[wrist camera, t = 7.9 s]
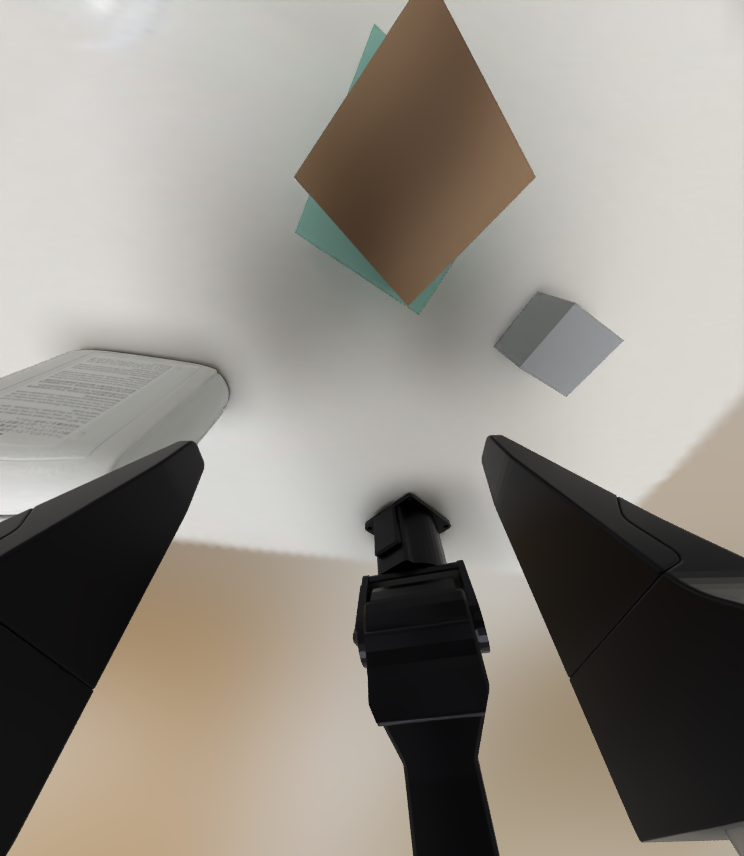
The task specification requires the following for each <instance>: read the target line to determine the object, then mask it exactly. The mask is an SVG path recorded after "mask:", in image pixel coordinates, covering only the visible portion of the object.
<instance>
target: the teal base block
mask: <svg viewBox="0 0 744 856" xmlns="http://www.w3.org/2000/svg"><path fill="white" fill-rule="evenodd" d="M385 37H386V34H385V33H384V32H382V31H381V30H380V29H379V28H378V27H377V26H376V25H375V24H374V26H373V29H372V31H371V34H370V37H369V39H368V42H367V44H366V47H365V50H364V52H363V55H362V58H361V60H360V63H359V66H358V68H357V71H356V73H355V76H354V79H353V81H352V84H351V87H350V89H349V92H350V90H351V89H352V87H353V86H354V84H355V83H356V81H357V80H358V78H359V77H360V75H361V74H362V72H363V71H364V69H365V67H366V66H367V64H368V63H369V61H370V60H371V58H372V57H373V55H374V54H375V52H376V51H377V49H378V47H379V46H380V44H381V43H382V41H383V40H384V38H385ZM349 92H348V94H349ZM295 233H297V234H298V235H300V236H301V237H303V238H304V239H306V240H307V241H309V242H310V243H312V244H313V245H315V246H316V247H318V248H319V249H321V250H322V251H324V252H325V253H327V254H328V255H330V256H331V257H333V258H334V259H336V260H337V261H339V262H340V263H342V264H343V265H345V266H346V267H348V268H349V269H351V270H352V271H354V272H355V273H357V274H358V275H360V276H361V277H363V278H364V279H366V280H367V281H369V282H370V283H372V284H374V285H375V286H377V287H378V288H380V289H381V290H383V291H384V292H386V293H387V294H389V295H390V296H392V297H393V298H395V299H396V300H398V301H399V302H401V303H402V304H404V305H405V306H407V305H406V304H405V303H404V301H403V300H402V299H401V298H400V297H399V296H398V295H397V293H396V292H395V291H394V290H393V289H392V288H391V287H390V286H389V284H388V283H387V282H386V281H385V280H384V279H383V278H382V276H381V275H380V274H379V273H378V272H377V271H376V270H375V269H374V267H373V266H372V265H371V264H370V263H369V262H368V261H367V259H366V258H365V257H364V256H363V255H362V254H361V253H360V251H359V250H358V249H357V248H356V247H355V246H354V245H353V244H352V242H351V241H350V240H349V239H348V238H347V237H346V236H345V234H344V233H343V232H342V231H341V230H340V229H339V228H338V227H337V225H336V224H335V223H334V222H333V221H332V220H331V219H330V217H329V216H328V215H327V214H326V213H325V212H324V211H323V209H322V208H321V207H320V206H319V205H318V204H317V203H316V202H315V200H314V199H313V198H312V197H311V196H310V195H309V198H308V200H307V203H306V205H305V208H304V211H303V213H302V216H301V219H300V221H299V224H298V227H297V229H296V232H295ZM455 259H456V258H455ZM455 259H454V260H455ZM454 260H453V261H452V262H451V263H450V264H449V265H448V266H447V267H446V268H445V269H444V270H443V271H442V272H441V273H440V274H439V275H438V276H437V277H436V279H435V280H434V281H433V282H432V283H431V284H430V285H429V286H428V287H427V288H426V289H425V290H424V291H423V292H422V293H421V294H420V295H419V296H418V297H417V298H416V299H415V300H414V301H413V302H412V303H411V304H410V305H409V306H407V307H408V308H410V309H411V310H413V311H414V312H416V313H417V314H420V312H421V311H422V309H423V308H424V306H425V305H426V303H427V302H428V300H429V299H430V297H431V296H432V294H433V292H434V291H435V289H436V288H437V286H438V285H439V283H440V282H441V280H442V279H443V277H444V276H445V274H446V273H447V271H448V269H449V268H450V266H451V265H452V263H453V262H454Z"/></svg>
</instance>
